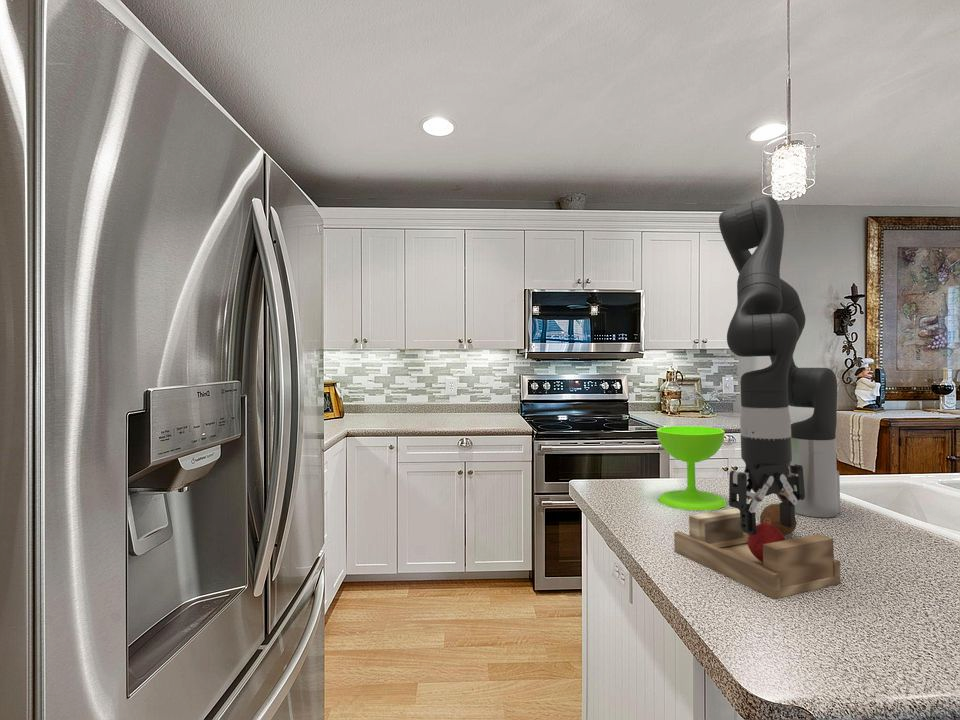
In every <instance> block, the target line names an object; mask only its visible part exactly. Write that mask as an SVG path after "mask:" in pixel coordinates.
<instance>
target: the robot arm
mask: <svg viewBox="0 0 960 720" xmlns="http://www.w3.org/2000/svg"><path fill="white" fill-rule="evenodd" d="M784 224H785V223H784V219H783V214H782V210H781V208H780V206H779V204H778V202H777V200H776V199H775V198H773V197H771V196H762V197H759V198H756V199H755V198H754V199H753V200H751V201H747V202H744V203H742V204H739V205H736V206H733V207H731V208H728V209H725V210H724V211H722V212H721V213H720V215H719V217H718V225H719V230H720V233H721V236H722V239H723V242H724V244H725V246H726V250H727V251H728V253H729V254H730V257H731V259H732V261H733V264H734V266H735V267H736V270H737V271H738V277H737V281H736V292H737V293H736V294H737V296H736V298H737V304H736V308H735V311H734V314H733V316H732V318H731V320H730V321H729V325H728V329H727V331H726V344H727V346H728V348H729V350H730V351H731V352H732V353H733V354H734V355H736V356H738V357H740V358H741V357H744V358H750V357H751V358H752V357H769V358H770V362H771V364H770V365H769V366H767V367H765V368H764V367H763V368H762V369H756V370H751V371H747V372H744V373H743V374H742V375H741V378H740V406H741V407H740V415H739V416H740V418H739V420H740V421H739V427H740V452H741V453H740V455H741V460H742V461H743V462H744V464H745V468H744V471H736V470H730V471H729V474H728V475H729V482H728V483H729V484H728V485H729V487H728V488H729V489H728V490H729V491H728V504H729V507H731V508H733V509H735V508H738V509H739V510H740V520H741V529H742V530H743V532H744V533H747V534H750V535H753V534H756V525H757V523H756V522H757V519H756V518H757V517H756V516H757V515H756V512H755V510H756V508H757V507H758V505H759V503H761V502H762V501H764V499H765V497H768V496H770V495H773V494H774V495H776V496H777V498H778V499H779V500H780V501H781V502H779V504H780V523H781V525H783V526H786V527H794V523H795V518H796V514H799V515H801V516H807V517H813V518H833V517H836V516H838V515H839V513H841V489H840V487H841V485H840V479H841V478H840V471H839V470H837V466H838V465H837V441H836V440H837V439H836V438H837V437H836V430H837V424H838V423H837V421H838V420H837V419H838V418H837V417H838V414H837V411H838V410H837V409H838V408H837V407H838V381H837V376H836V374H835V372H834V371H833V370H832V369H831V368H828V367H798V366H797V365H796V363H795V361H794V353H795V350H796V347H797V343H799V342H798V341H799V340H800V338H801V336H802V333H803V331H804V328H805V325H806V321H807V320H806V314H805V312H804V309H803V306H802V302H801V300H800V299H801V298H800V297H799V294H798V292H797V290H796V289H795V288H794V287H793V286H792V285H791V284H789V283H788V282H787V281H785V280H784V279H782V278H781V276H780V275H781V274H780V270H781V261H782V255H783V245H784V236H785V235H784V234H785V225H784ZM754 248H756V249H755V250H754V251H753V252H752V253H751V251H750V249H754ZM789 407H795V408H809V409H813V413H812V415H811V416H809V418H807V419H804V420H801V421H796V422H792V421H791V416H790V410H789V409H790V408H789ZM791 422H792V423H791ZM752 491H753V492H752ZM749 500H750V501H749Z"/></svg>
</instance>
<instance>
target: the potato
mask: <svg viewBox="0 0 960 720" xmlns="http://www.w3.org/2000/svg"><path fill="white" fill-rule="evenodd" d="M761 511H762V512H761V513H760V516H759V524H760V523H762V522H763V521H764V520H765V519H767V518H769V519H771V520H772V525H774V526H775V527H776V528H778V529H779V530H780V531H781V532H782V534H783V535H784V537H785V536H786V537H787V536H788V535H790V534H792V533H793V532H794V531H795V529H796V527H797V525H798V521H797V518H796V517H795V523H794V527H786V526H783V525H781V523H780V503H773V504H772V503H771V504H769V505H768V506H766V507H764V508H763V510H761Z"/></svg>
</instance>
